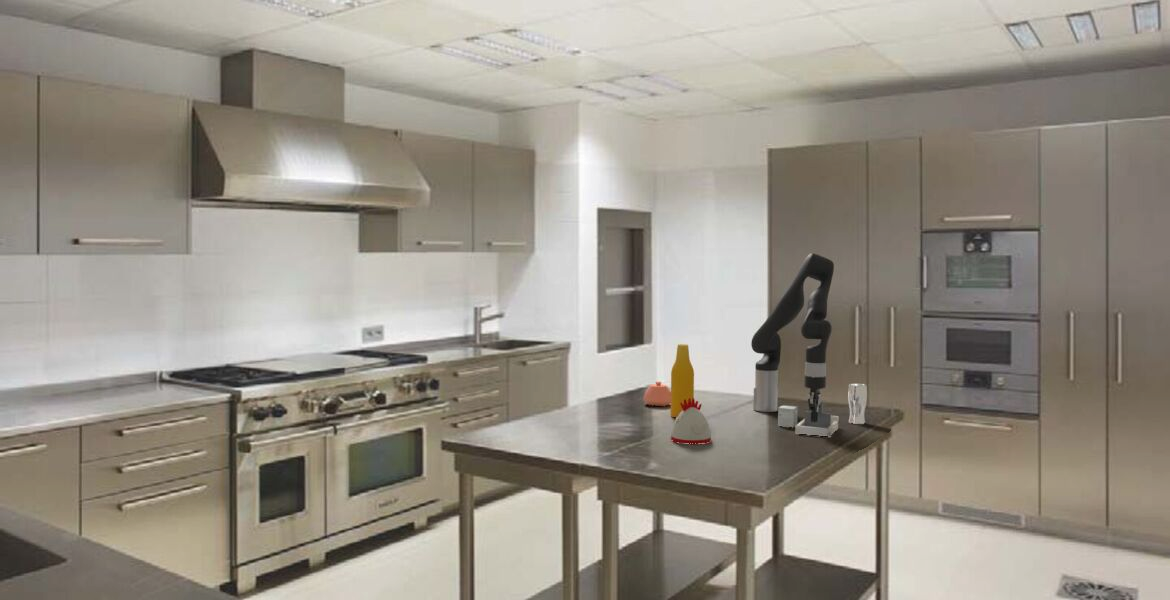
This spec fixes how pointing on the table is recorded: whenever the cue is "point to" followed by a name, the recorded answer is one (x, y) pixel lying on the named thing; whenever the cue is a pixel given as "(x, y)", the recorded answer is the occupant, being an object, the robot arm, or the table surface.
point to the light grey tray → (816, 430)
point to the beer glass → (857, 402)
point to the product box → (787, 416)
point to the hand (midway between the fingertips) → (814, 421)
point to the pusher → (823, 419)
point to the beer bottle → (681, 380)
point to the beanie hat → (691, 425)
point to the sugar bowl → (658, 395)
